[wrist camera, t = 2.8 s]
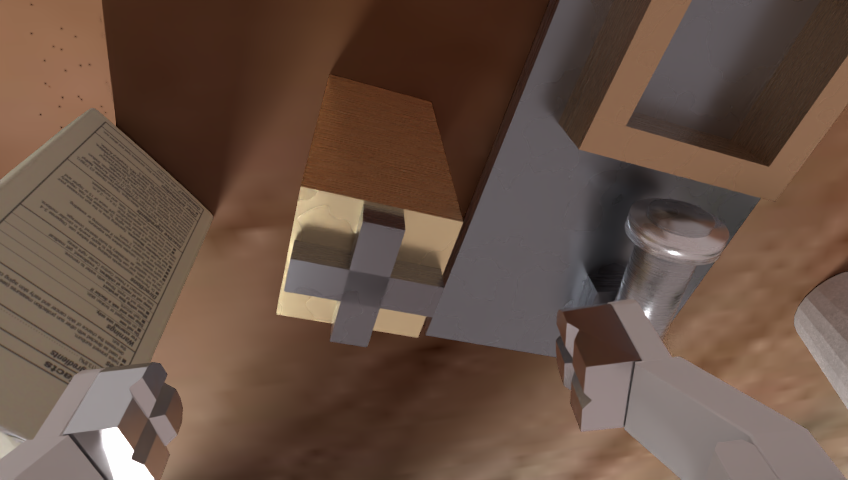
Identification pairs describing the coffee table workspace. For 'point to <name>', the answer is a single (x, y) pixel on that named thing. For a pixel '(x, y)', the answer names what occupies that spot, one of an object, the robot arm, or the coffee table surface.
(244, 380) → the coffee table surface
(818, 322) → the house plant
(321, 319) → the pale yellow block
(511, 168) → the coupler station
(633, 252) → the shaft
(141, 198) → the skincare box
